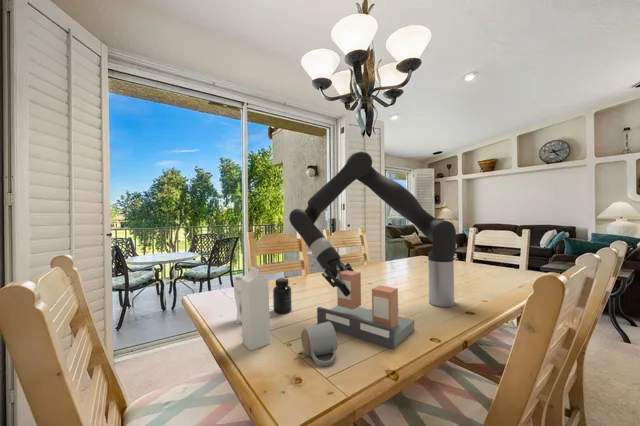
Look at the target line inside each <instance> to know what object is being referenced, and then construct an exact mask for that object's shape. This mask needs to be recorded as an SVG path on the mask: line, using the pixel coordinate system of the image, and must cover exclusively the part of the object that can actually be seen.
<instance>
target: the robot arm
mask: <svg viewBox="0 0 640 426" xmlns="http://www.w3.org/2000/svg"><path fill="white" fill-rule="evenodd" d="M372 165H373V159H372V157H371V154H369V153H368V152H367V151H363V150H358V151H354V153H352V154H351V155H350V156H349V157H348V158H347V160H346V162H345V165H344V166H343V167H342V168H341V169H340V170H339V172H337V174H336V175H334V176H333V177H332V178H331V179H330V180H329V181H328V182H327V183H325V184H324V185H323V186H322V187H321V188H319V190H317V191H316V192H315V193H314V194H313V195H312V196H311V197H310V198H309V200H308V201H307V207H306V208H305V210H304V209H302V208H294V209H293V210H291V212H290V213H289V215H288V216H289V218H288V219H289V223H290V224H291V226H292V227H293V228H294V229H295V231H296V232H297V233H298V234H299V235H300V237H301V238H302V240H303V241H304V242H305V245H306V246H307V248H308V249H309V251H310V252H311V254H312V256H313V257H314V258H315V260H316V261H317V263H318V264H319V265H320V268H322V270H324V271H323V272H322V273H321V276H322V277H323V278H324V279H325V280H326V281H327V283H328V284H330V286H331V287H332V288H335V287H336V288H337V287H338V288H339V289H340V290H341V291H342V293H343V294H344V295H345V296H346V297H347V296H348V295H349V294H350V293H351V292H350V291H349V289H348V288H347V286H346V285H345V284H343V281H342V279H341V275H340V274H339V273H341V271H354V269H353V267H352V266H351V264H350V263H349V262H347V263H346V264H344V263H343V262H342V261H341V255H340V254H339V252H338V251H337V250H336V248H335V247H334V246H333V245H332V243H331V242H330V241H329V240H328V239H327V238H326V237H325V236H324V234H323V232H322V231H321V230H320V229H319V228H318V227H317V226H316V225H315V223H316V221H317V220H318V218H319V217H320V216H321V214H322V213H323V212H324V211H325V210H326V209H327V208H328V207H329V206H330V205H332V203H333V202H335V200H336V199H337V198H338V197H339V196H340V195H341V194H342V193H343V192H344V190H346V189H347V188H348V186H350V185H351V184H352V183H353V182H355V181H356V180H357V181H358V182H360V183H362V184H363V185H364V186H366V187H367V188H369V189H370V190H371V191H372V192H373V193H374V194H375V195H376V196H377V197H378V198H380V199H381V200H382V201H383V202H384V203H386V205H388V206H389V207H390V208H391V209H392V210H394V211H395V212H396V213H398V214H399V215H400V216H401V217H403V218H405V220H408V221H409V222H410V223H412V224H413V226H415V227H416V228H417V229H418V230H419V231H420V232H421V233H422V234H423V235H424V236H425V237H426V239H428V240H429V241H431V242H432V246H431V247H432V248H431V250H430V251H429V252H428V254H427V255H428V256H427V258H428V303H429V304H431V305H433V306H436V307H441V308H442V307H443V308H449V307H450V308H451V307H453V306H454V305H455V268H454V267H455V265H454V263H455V262H454V259H455V258H454V257H455V254H456V249H457V246H456V245H457V231H456V228H455V227H456V226H455V225H454V224H453V223H452V222H451V221H449V220H445V219H437V218H436V217H434V216H433V215H432V214H430V213H428V212H427V211H426V210H425V209H424V207H422V205H421V204H420V202H419V201H418V199H417V198H416V197H415V195H414V194H413V193H411V192H410V191H409V190H408V189H407V188H405V187H404V186H403V185H402V184H400V183H399V182H397V181H394V180H393V179H392V178H391V179H390V178H388V177H387V176H384V175H383V174H381V173H379V172H378V171H377V169H375V168H374V167H373V166H372ZM337 274H338V275H337ZM338 280H339V281H338Z"/></svg>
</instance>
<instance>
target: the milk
mask: <svg viewBox="0 0 640 426" xmlns="http://www.w3.org/2000/svg"><path fill="white" fill-rule="evenodd" d="M242 276H243V277H242V278H241V302H242V324H241V337H242V338H241V339H242V340H241V341H242V344H243V345H244V346H246V348H248V350H249V351H250V352H251V351H253V350H257V349H260V348H263V347H266V346H268V345H270V344H271V337H270V335H271V333H270V332H271V331H270V329H271V327H270V326H271V325H270V293H269V292H270V290H269V289H270V288H269V284H270V283H269V278H268V277H265V276H264V275H261V274H260V270H259V268H257V267H254V266H252V265H251V266H250V267H249V272H247V273H246V274H244V275H242Z"/></svg>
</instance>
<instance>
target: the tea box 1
mask: <svg viewBox="0 0 640 426" xmlns="http://www.w3.org/2000/svg"><path fill="white" fill-rule="evenodd" d="M339 274H340V275H341V279H342V281H343V284H345V285H346V286H347V288H348V289H349V291H350V292H351V293H350V294H349V295H348V296H347V297H346V296H345V295H344V294H343V293H342V291H341V290H340V289H339V288H338V287H336V288H337V289H336V291H337V293H336V294H337V306H341V307H344V308H348V309H352V310H353V309H355V308H357V307H361V306H362V278H361V275H362V274H361V272H360V271H354V270H353V271H341V273H339ZM337 275H338V274H337ZM338 281H339V280H338Z"/></svg>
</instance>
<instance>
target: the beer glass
mask: <svg viewBox="0 0 640 426" xmlns="http://www.w3.org/2000/svg"><path fill="white" fill-rule="evenodd" d="M243 276H244V275H240V276H236V277H235V278H234V284H233V294H234V295H233V296H234V300H235V305H236V319H235V322H236V321H237V322H239V323H238V324H240V323H242V302H241V278H242V277H243ZM237 322H236V323H237Z"/></svg>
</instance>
